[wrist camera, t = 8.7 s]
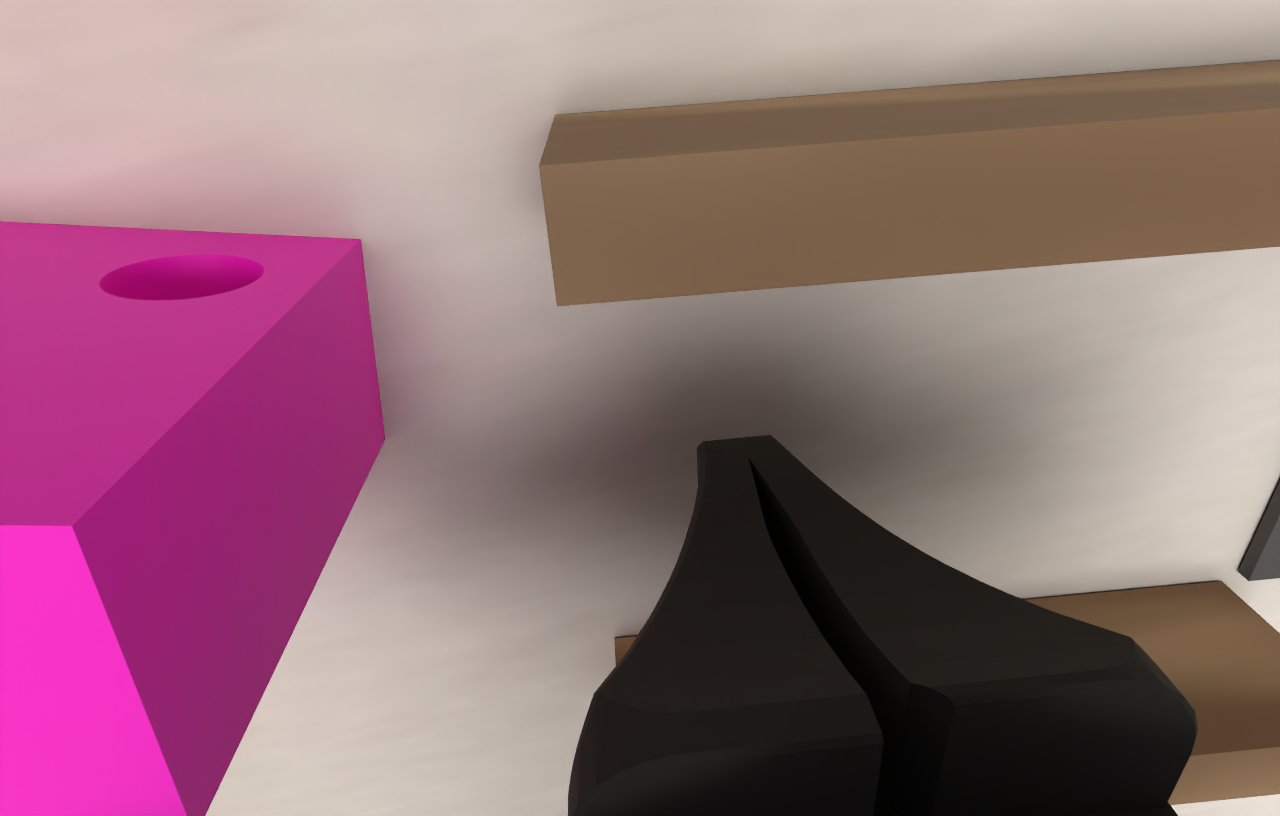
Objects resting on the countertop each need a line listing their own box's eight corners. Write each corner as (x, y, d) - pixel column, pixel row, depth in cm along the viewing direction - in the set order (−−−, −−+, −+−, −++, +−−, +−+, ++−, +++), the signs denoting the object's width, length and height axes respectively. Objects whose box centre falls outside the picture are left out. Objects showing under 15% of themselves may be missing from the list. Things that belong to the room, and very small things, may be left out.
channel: (1200, 628, 17) (1357, 785, 14) (620, 683, 17) (627, 860, 13) (1462, 45, 11) (1869, 61, 7) (555, 115, 11) (539, 165, 7)
